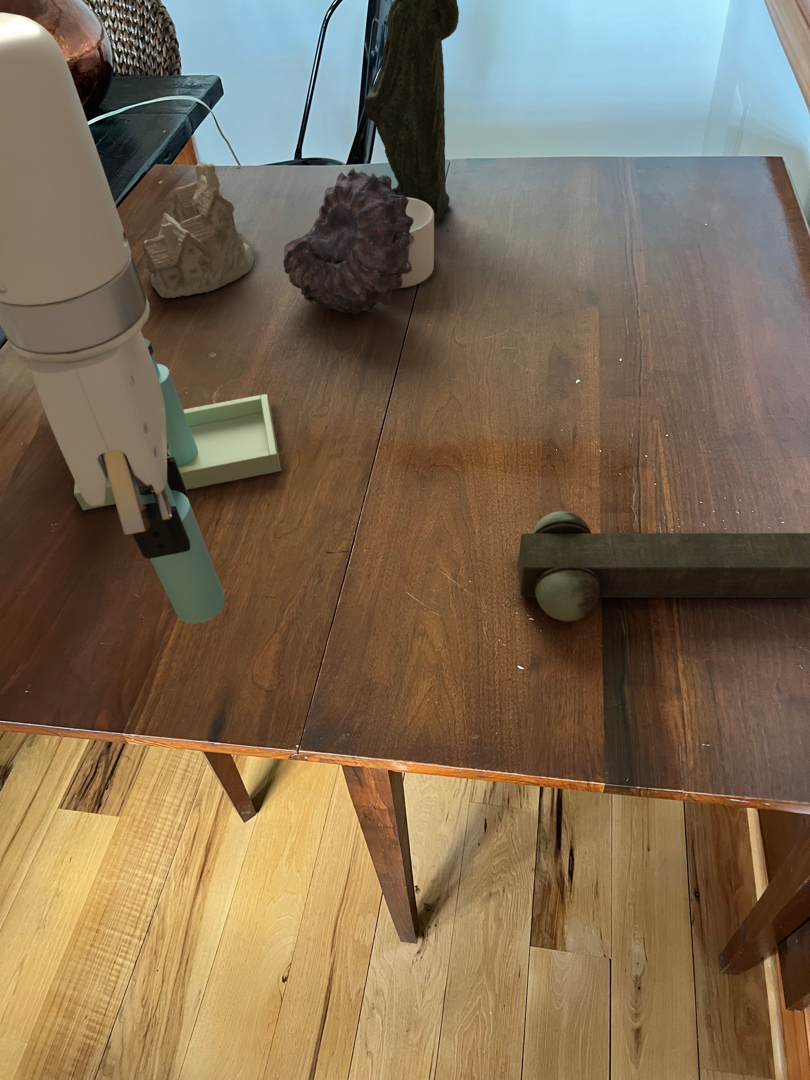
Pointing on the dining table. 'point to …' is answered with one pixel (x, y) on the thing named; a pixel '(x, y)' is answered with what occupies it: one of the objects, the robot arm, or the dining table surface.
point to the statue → (414, 98)
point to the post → (655, 565)
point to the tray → (224, 444)
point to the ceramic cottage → (197, 241)
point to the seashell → (353, 246)
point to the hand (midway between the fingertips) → (166, 525)
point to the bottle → (188, 568)
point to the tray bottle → (174, 417)
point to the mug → (420, 242)
